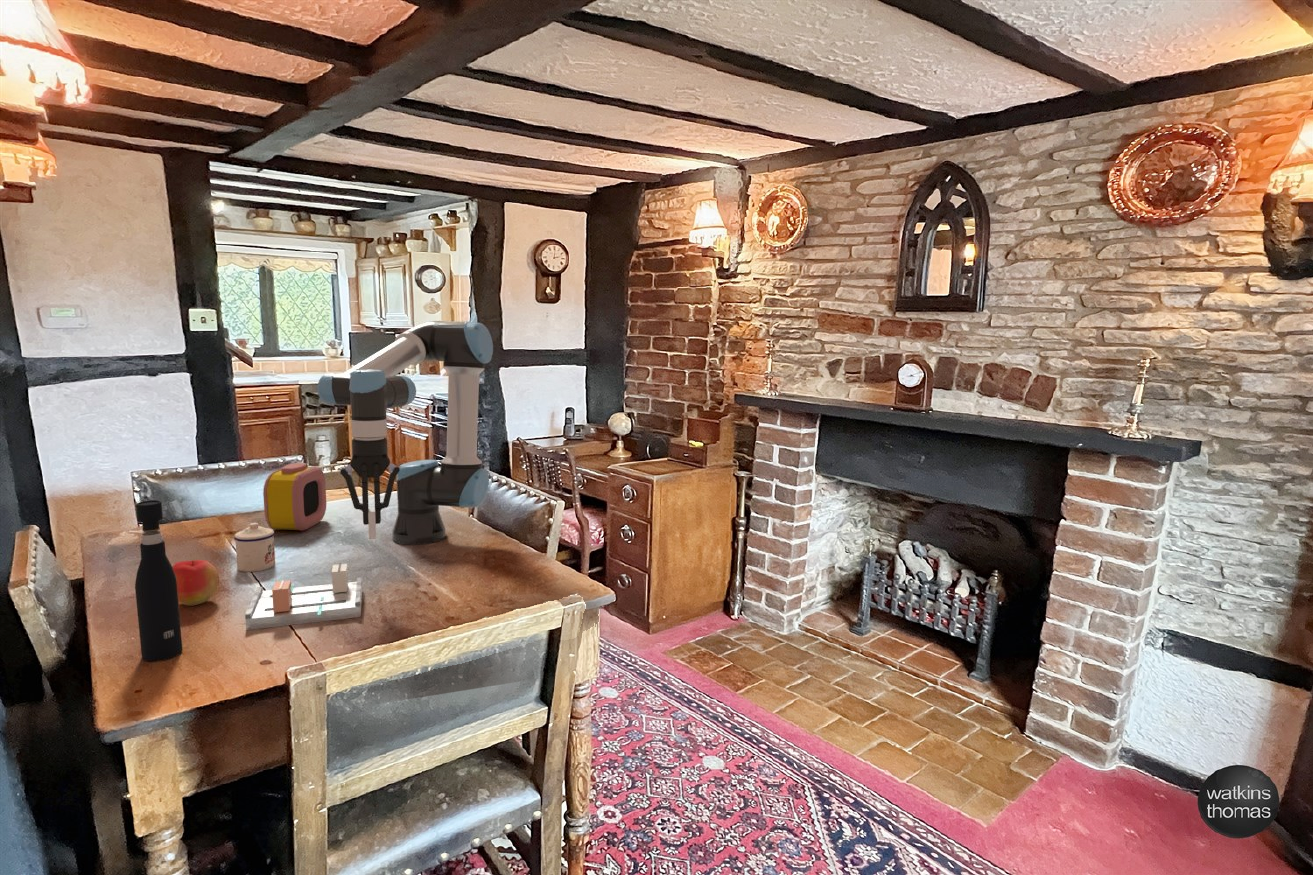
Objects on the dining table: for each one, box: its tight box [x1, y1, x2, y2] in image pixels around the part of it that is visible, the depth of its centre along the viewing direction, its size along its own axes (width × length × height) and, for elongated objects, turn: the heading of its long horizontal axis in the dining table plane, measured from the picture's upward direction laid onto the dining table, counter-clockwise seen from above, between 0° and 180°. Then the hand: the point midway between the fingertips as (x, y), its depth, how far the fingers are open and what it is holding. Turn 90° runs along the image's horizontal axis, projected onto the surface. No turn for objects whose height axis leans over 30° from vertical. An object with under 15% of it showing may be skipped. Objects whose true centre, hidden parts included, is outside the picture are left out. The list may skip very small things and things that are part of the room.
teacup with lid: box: [233, 522, 276, 573], centre depth 183 cm, size 12×9×12 cm
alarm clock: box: [262, 462, 327, 532], centre depth 216 cm, size 18×11×19 cm, turn 179°
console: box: [244, 577, 363, 631], centre depth 157 cm, size 22×20×3 cm
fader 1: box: [271, 579, 292, 612], centre depth 151 cm, size 3×5×5 cm, turn 21°
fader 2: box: [331, 563, 349, 593], centre depth 162 cm, size 3×5×5 cm, turn 21°
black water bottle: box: [134, 499, 183, 663], centre depth 132 cm, size 6×6×30 cm
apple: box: [172, 559, 220, 607], centre depth 157 cm, size 10×10×10 cm
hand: (372, 537), depth 163 cm, fingers closed
